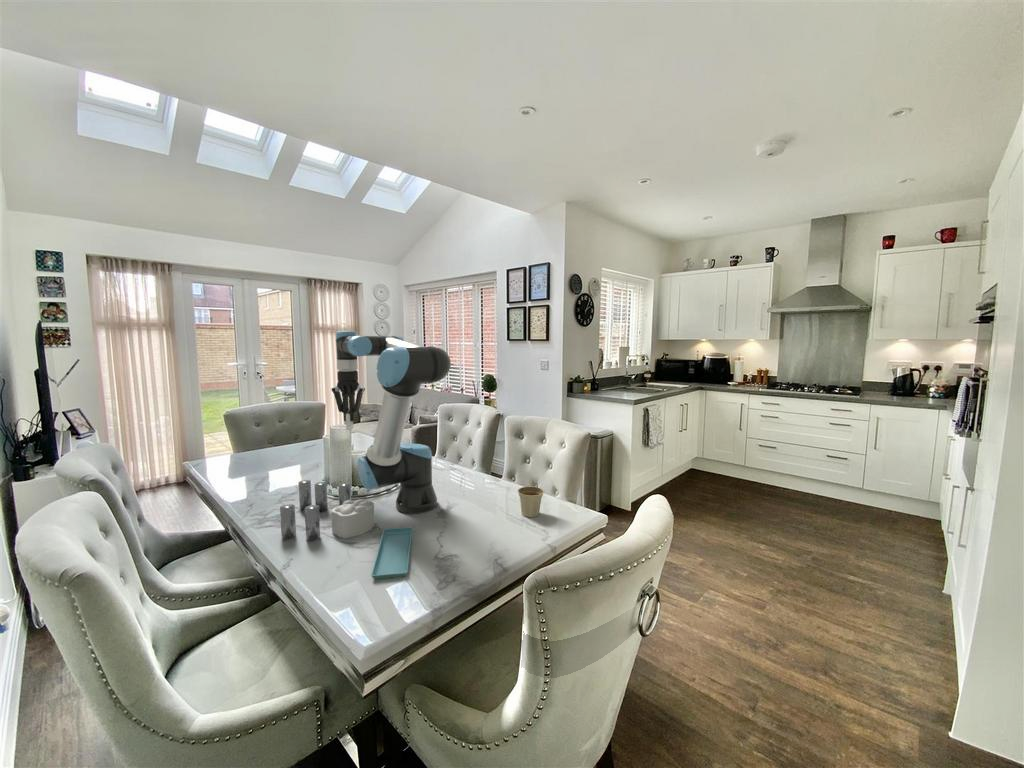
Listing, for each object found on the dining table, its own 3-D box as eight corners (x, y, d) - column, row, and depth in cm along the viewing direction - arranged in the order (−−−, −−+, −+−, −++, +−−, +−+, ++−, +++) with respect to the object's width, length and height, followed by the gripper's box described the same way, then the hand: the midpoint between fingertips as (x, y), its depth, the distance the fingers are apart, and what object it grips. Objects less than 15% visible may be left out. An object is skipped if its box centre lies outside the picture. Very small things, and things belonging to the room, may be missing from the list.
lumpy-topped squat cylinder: (328, 530, 135) (327, 505, 134) (364, 517, 145) (363, 493, 144) (345, 540, 128) (344, 513, 128) (381, 525, 139) (381, 500, 138)
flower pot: (549, 513, 148) (549, 490, 148) (532, 522, 142) (532, 497, 141) (529, 506, 155) (529, 484, 154) (512, 514, 148) (512, 490, 147)
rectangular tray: (407, 580, 108) (407, 571, 107) (371, 583, 106) (370, 574, 106) (413, 534, 133) (413, 526, 133) (383, 536, 132) (383, 529, 131)
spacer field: (355, 507, 153) (354, 481, 152) (315, 541, 127) (314, 510, 126) (303, 505, 155) (302, 479, 154) (254, 538, 129) (252, 507, 128)
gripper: (367, 369, 166) (369, 427, 169) (336, 369, 167) (338, 427, 170) (359, 371, 159) (361, 431, 161) (326, 370, 160) (329, 431, 162)
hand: (349, 429), depth 165 cm, fingers closed
